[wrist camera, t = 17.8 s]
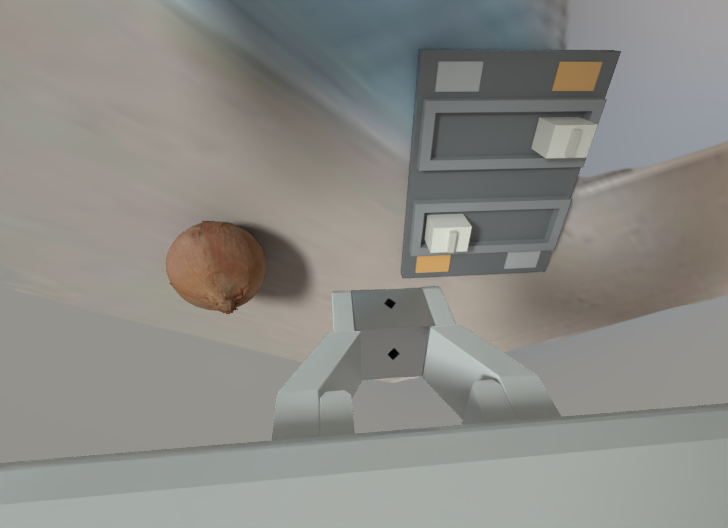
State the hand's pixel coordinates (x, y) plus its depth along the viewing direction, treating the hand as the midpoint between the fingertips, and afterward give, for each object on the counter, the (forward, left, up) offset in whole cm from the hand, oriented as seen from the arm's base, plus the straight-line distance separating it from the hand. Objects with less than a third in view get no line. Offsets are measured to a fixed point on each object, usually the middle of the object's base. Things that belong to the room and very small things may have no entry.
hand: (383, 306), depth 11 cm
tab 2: (+3, +21, -28) cm, 35 cm away
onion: (+15, -13, -29) cm, 35 cm away
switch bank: (+8, +16, -29) cm, 34 cm away
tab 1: (+13, +11, -28) cm, 33 cm away
